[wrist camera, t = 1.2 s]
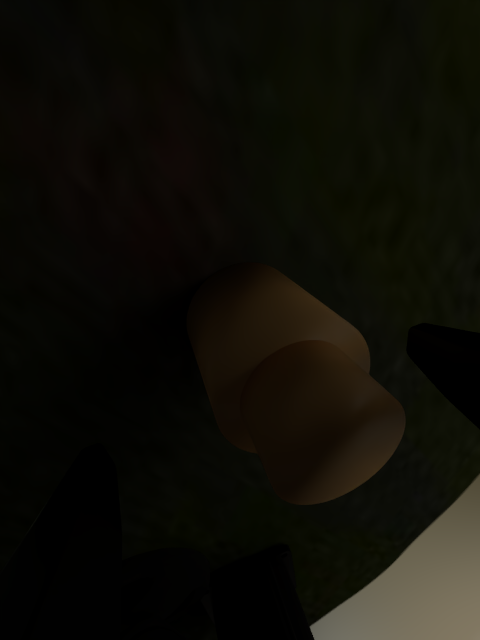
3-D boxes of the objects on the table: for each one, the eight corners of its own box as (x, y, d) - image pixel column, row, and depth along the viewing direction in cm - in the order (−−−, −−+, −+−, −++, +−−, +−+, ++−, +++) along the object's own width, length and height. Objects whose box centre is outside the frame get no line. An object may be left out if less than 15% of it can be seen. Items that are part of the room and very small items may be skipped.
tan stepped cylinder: (299, 347, 13) (416, 476, 8) (201, 380, 13) (255, 550, 7) (292, 248, 11) (448, 333, 6) (172, 280, 10) (218, 415, 5)
